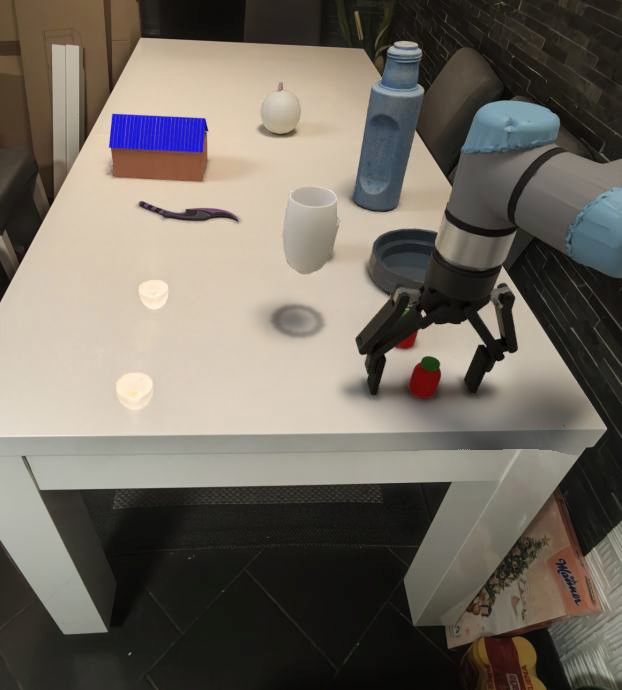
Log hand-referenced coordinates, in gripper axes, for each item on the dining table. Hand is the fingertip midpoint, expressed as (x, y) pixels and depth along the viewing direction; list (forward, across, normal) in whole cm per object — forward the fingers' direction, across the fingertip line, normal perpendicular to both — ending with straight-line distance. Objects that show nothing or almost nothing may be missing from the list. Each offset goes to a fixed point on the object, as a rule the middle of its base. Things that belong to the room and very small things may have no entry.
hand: (420, 387), depth 74 cm
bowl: (0, -7, -27) cm, 28 cm away
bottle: (+1, -6, -55) cm, 55 cm away
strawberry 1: (0, 0, -10) cm, 10 cm away
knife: (+1, +33, -49) cm, 59 cm away
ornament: (+1, +10, -93) cm, 94 cm away
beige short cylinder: (+1, +9, -34) cm, 35 cm away
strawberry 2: (0, 0, 0) cm, 0 cm away
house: (+1, +39, -70) cm, 81 cm away
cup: (0, +15, -15) cm, 21 cm away
